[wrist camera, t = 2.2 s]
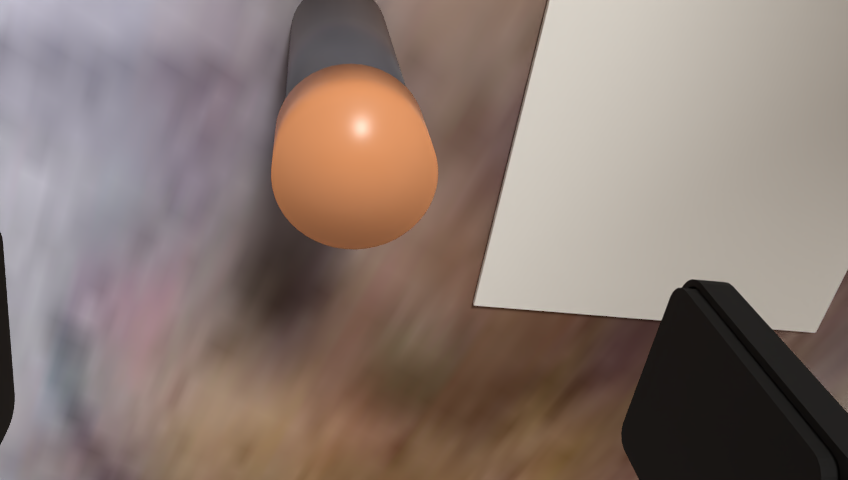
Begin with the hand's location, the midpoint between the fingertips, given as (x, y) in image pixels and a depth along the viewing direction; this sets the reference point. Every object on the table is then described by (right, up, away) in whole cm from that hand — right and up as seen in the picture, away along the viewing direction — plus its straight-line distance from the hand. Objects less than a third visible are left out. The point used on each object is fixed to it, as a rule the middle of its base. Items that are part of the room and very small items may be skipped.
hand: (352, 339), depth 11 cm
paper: (+11, +5, +16) cm, 20 cm away
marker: (-1, +7, +12) cm, 14 cm away
